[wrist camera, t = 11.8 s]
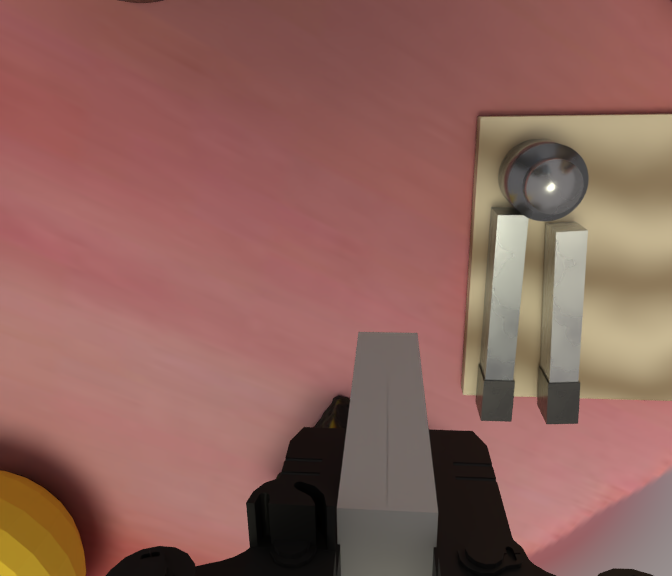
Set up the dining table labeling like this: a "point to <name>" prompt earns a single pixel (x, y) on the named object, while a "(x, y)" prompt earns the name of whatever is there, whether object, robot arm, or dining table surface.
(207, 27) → the dining table surface
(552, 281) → the bar
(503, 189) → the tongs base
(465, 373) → the board
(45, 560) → the vase
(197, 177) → the dining table surface
